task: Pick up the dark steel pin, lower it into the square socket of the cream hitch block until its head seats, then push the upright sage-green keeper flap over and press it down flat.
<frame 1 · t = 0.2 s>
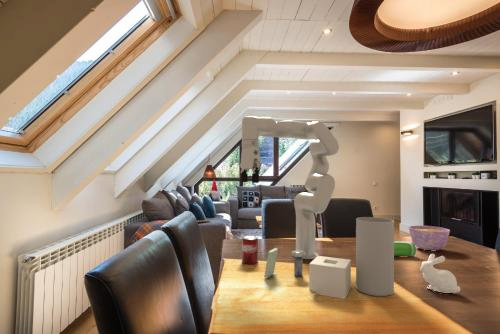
hand: (249, 182, 144), 37 cm above the table, tool pointing down, fingers open, 9 cm apart
hinge foot: (268, 278, 125), on the table
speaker: (395, 256, 162), on the table
cylinder vase: (374, 290, 114), on the table
rabbit: (437, 290, 115), on the table
steel pin: (298, 278, 126), on the table
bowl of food: (428, 249, 177), on the table
keeper flap: (271, 262, 125), point 6 cm above the table, hinge at -10.0°
hitch block: (330, 290, 114), on the table
soda can: (249, 265, 144), on the table
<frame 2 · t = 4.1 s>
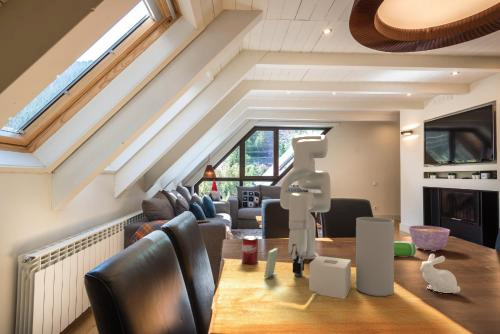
hand: (298, 271, 126), 3 cm above the table, tool pointing down, fingers closed on steel pin, 3 cm apart
steel pin: (298, 278, 126), on the table, touching gripper
everything else where it was.
when the fingers open (11 cm above the table, at t = 7.9 s): steel pin drops 1 cm, point 6 cm above the table.
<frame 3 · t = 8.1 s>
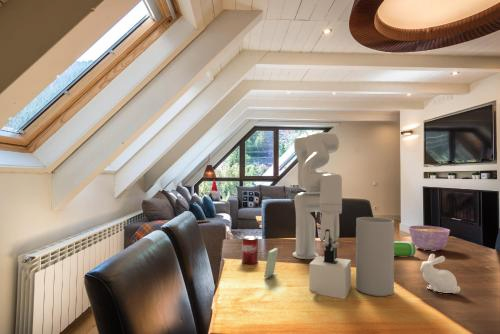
hand: (330, 259, 114), 11 cm above the table, tool pointing down, fingers open, 4 cm apart
steel pin: (330, 271, 114), point 6 cm above the table, touching gripper
everything else where it was.
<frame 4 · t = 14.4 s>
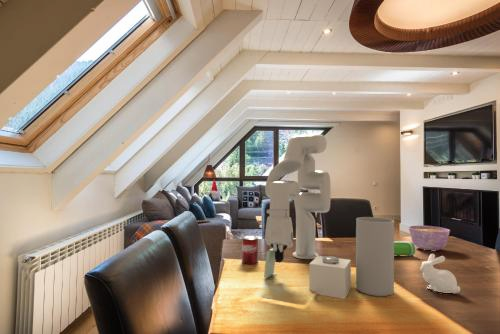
hand: (279, 261, 124), 7 cm above the table, tool pointing down, fingers closed
steel pin: (330, 287, 114), point 1 cm above the table, touching hitch block
keeper flap: (270, 262, 125), point 6 cm above the table, hinge at -5.7°, touching gripper
everything else where it was.
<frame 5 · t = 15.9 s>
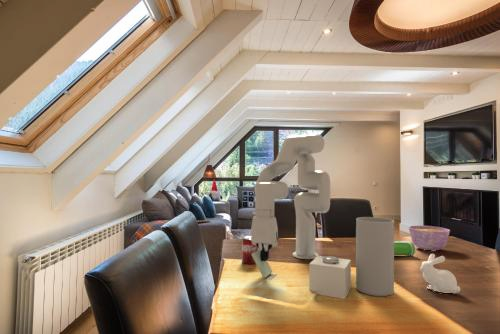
hand: (264, 260, 126), 7 cm above the table, tool pointing down, fingers closed
keeper flap: (262, 263, 127), point 6 cm above the table, hinge at 31.7°, touching gripper
everything else where it was.
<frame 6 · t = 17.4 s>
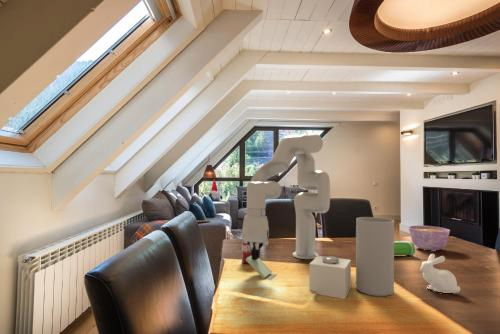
hand: (255, 258, 128), 7 cm above the table, tool pointing down, fingers closed
keeper flap: (258, 265, 127), point 4 cm above the table, hinge at 51.0°, touching gripper
everything else where it was.
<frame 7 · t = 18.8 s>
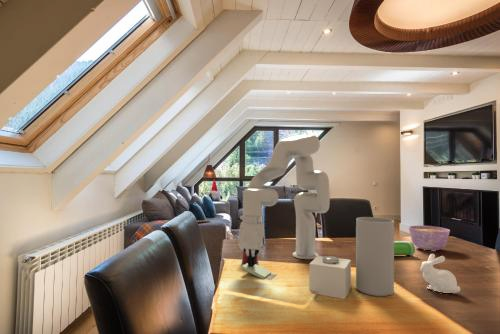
hand: (251, 265, 128), 4 cm above the table, tool pointing down, fingers closed
keeper flap: (256, 270, 128), point 3 cm above the table, hinge at 73.1°, touching gripper
everything else where it was.
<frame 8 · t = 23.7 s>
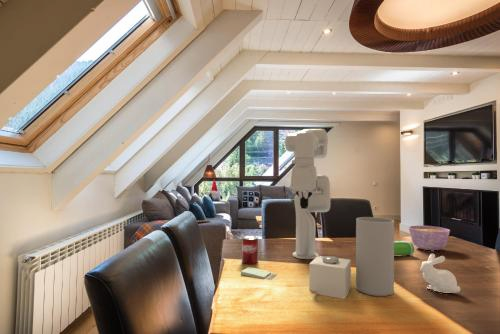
hand: (304, 208, 130), 27 cm above the table, tool pointing down, fingers closed
keeper flap: (256, 273, 128), point 1 cm above the table, hinge at 85.6°
at the end: steel pin 0.0 cm off-centre on the hitch block, point 1.0 cm above the hitch block's base; steel pin tilted 0°; keeper flap at +86° (first picture: -10°) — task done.
